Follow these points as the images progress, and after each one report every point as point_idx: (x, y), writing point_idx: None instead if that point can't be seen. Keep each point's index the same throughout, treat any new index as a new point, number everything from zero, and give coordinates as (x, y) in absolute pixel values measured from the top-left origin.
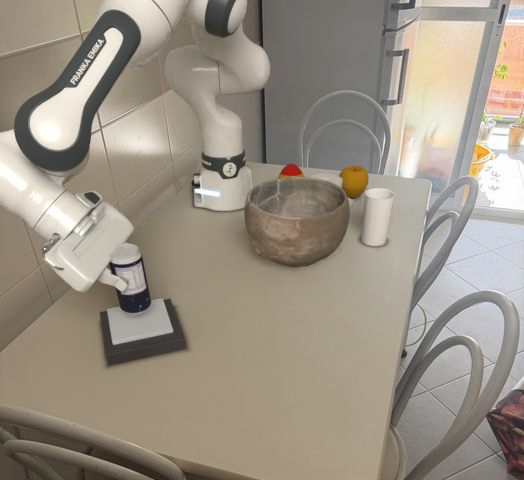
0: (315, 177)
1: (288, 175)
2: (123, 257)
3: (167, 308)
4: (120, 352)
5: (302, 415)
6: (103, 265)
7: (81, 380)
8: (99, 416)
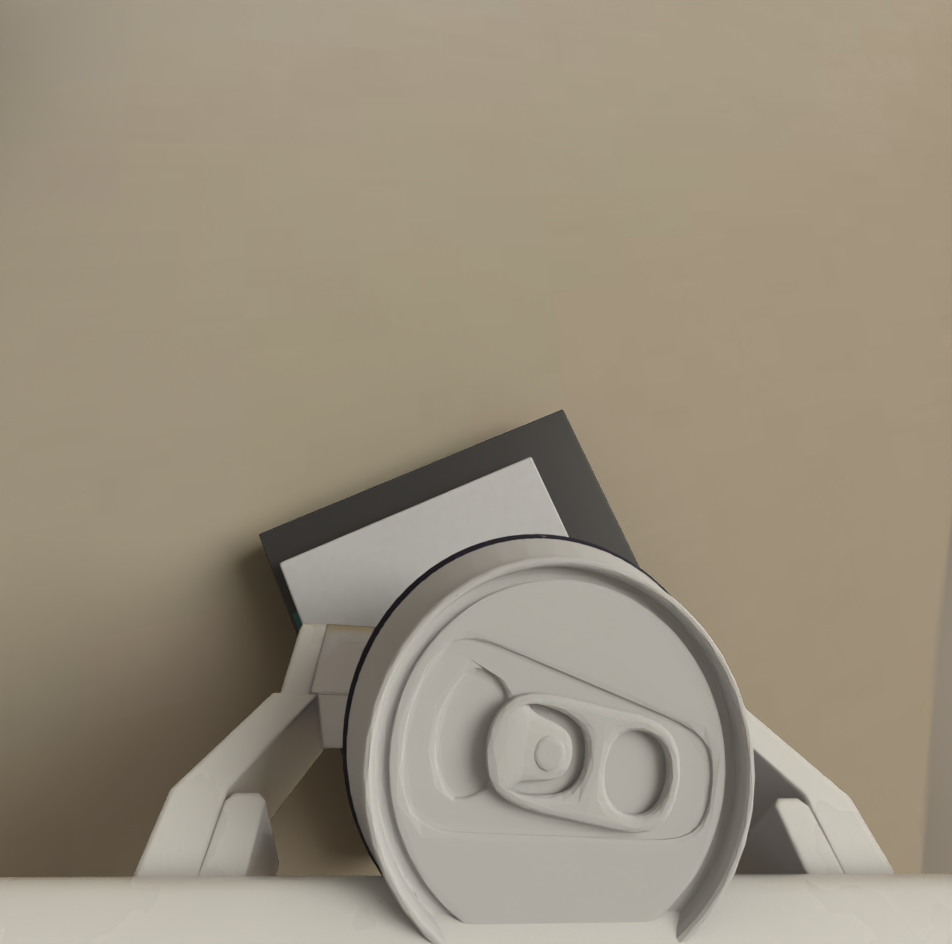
0: None
1: None
2: (737, 696)
3: (349, 527)
4: None
5: (778, 83)
6: (928, 909)
7: None
8: (908, 634)
